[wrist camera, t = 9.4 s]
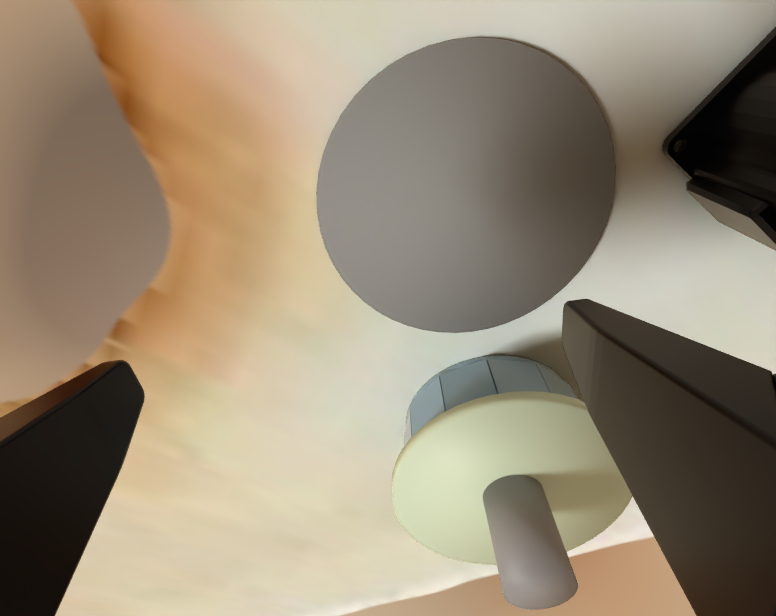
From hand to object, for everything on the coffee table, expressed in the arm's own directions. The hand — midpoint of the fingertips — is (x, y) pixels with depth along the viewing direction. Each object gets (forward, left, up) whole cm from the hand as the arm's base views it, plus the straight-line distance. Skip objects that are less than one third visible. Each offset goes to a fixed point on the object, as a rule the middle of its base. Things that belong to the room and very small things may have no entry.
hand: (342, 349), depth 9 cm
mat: (-2, +4, -12) cm, 13 cm away
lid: (+7, +14, -8) cm, 17 cm away
